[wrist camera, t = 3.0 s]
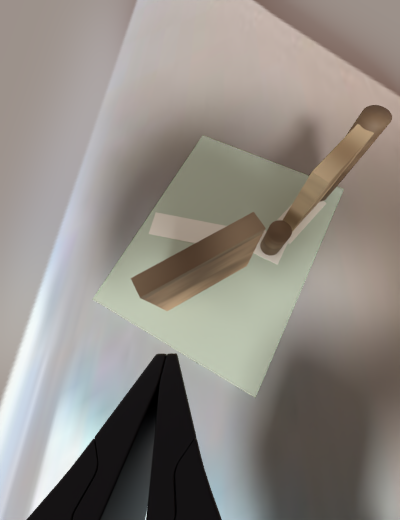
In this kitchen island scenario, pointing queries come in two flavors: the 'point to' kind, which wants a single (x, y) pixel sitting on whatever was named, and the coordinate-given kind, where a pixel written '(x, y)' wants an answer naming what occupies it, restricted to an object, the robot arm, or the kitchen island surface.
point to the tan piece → (328, 175)
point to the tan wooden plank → (200, 264)
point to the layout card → (236, 285)
